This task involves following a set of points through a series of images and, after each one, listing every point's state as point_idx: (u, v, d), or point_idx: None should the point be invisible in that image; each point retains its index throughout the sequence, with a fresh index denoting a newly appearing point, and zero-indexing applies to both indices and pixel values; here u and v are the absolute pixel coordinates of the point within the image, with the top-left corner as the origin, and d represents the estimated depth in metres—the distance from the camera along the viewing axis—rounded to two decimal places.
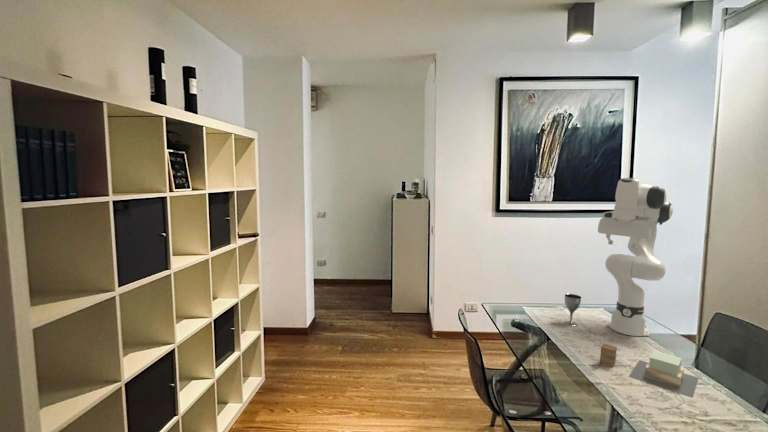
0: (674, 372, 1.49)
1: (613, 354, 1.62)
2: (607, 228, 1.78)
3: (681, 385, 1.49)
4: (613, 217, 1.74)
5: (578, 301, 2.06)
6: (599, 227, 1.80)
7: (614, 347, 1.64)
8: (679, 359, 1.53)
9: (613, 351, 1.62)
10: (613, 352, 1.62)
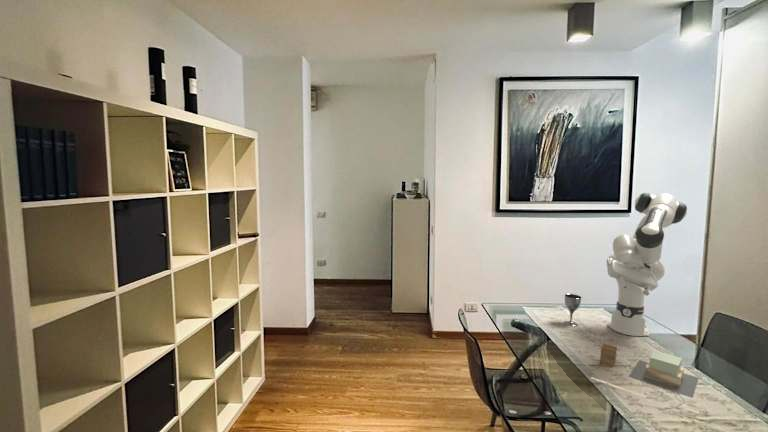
0: (674, 372, 1.49)
1: (613, 354, 1.62)
2: None
3: (681, 385, 1.49)
4: None
5: (578, 301, 2.06)
6: None
7: (614, 347, 1.64)
8: (679, 359, 1.53)
9: (613, 351, 1.62)
10: (613, 352, 1.62)
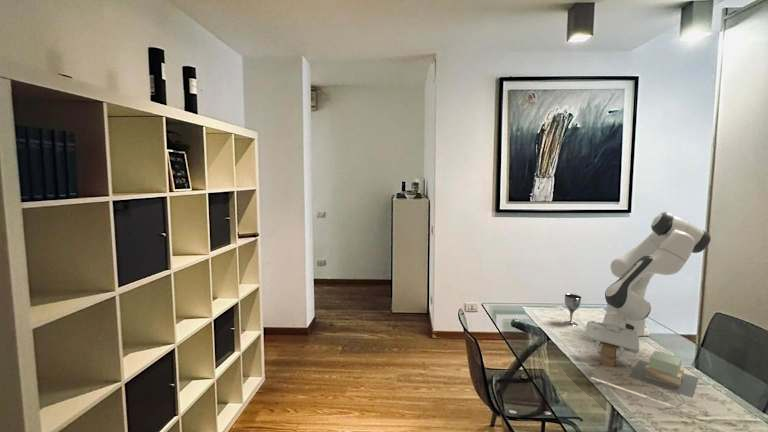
0: (674, 372, 1.49)
1: (613, 354, 1.62)
2: None
3: (681, 385, 1.49)
4: None
5: (578, 301, 2.06)
6: None
7: (614, 347, 1.64)
8: (679, 359, 1.53)
9: (613, 351, 1.62)
10: (613, 352, 1.62)
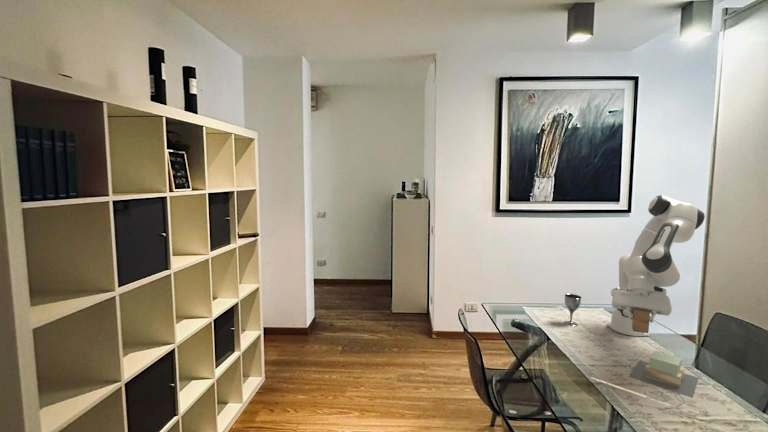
0: (674, 372, 1.49)
1: (648, 317, 1.53)
2: None
3: (681, 385, 1.49)
4: None
5: (578, 301, 2.06)
6: None
7: (646, 310, 1.56)
8: (679, 359, 1.53)
9: (648, 314, 1.53)
10: (648, 315, 1.53)
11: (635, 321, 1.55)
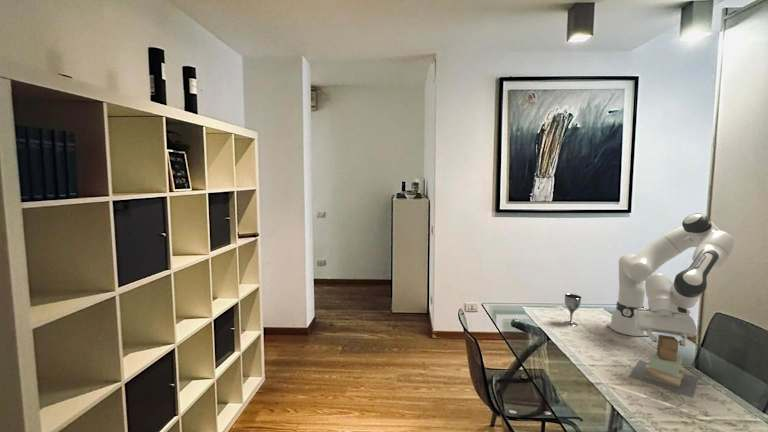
0: (674, 372, 1.49)
1: (676, 346, 1.50)
2: None
3: (681, 385, 1.49)
4: None
5: (578, 301, 2.06)
6: None
7: (673, 338, 1.53)
8: (679, 359, 1.53)
9: (677, 343, 1.50)
10: (677, 344, 1.50)
11: (663, 350, 1.52)
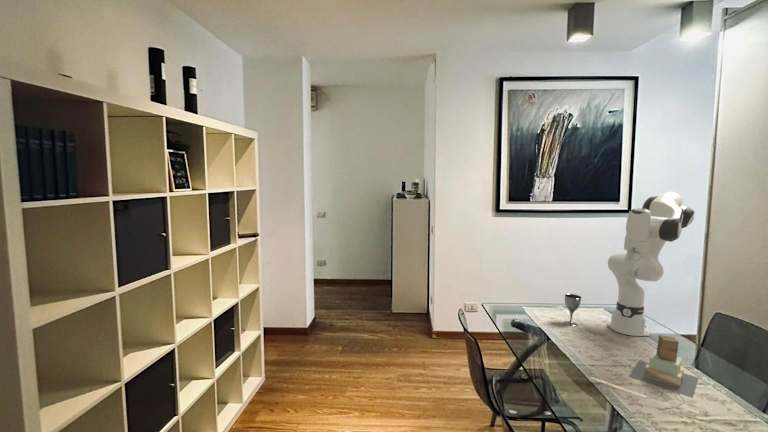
0: (674, 372, 1.49)
1: (676, 346, 1.50)
2: None
3: (681, 385, 1.49)
4: None
5: (578, 301, 2.06)
6: None
7: (673, 338, 1.53)
8: (679, 359, 1.53)
9: (677, 343, 1.50)
10: (677, 344, 1.50)
11: (663, 350, 1.52)
